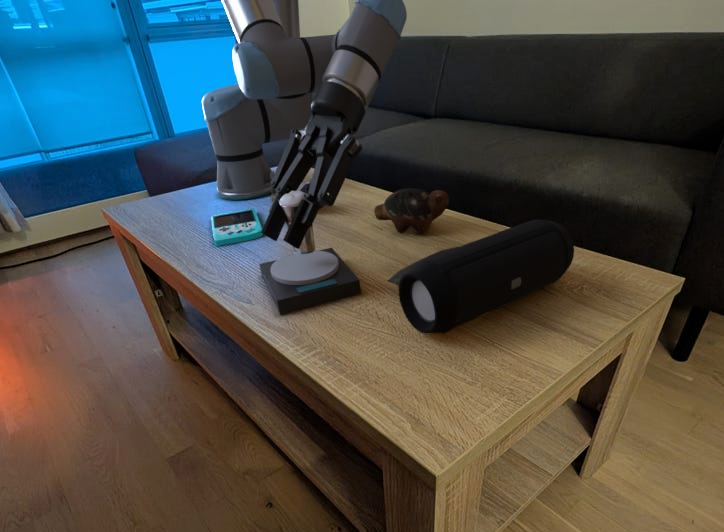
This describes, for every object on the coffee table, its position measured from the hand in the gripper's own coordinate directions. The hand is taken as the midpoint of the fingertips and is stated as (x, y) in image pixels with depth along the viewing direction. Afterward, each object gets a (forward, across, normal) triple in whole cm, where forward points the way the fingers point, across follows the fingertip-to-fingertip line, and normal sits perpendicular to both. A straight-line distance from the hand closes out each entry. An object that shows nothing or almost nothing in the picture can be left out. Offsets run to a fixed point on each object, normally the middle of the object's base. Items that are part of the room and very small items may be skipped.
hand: (279, 240), depth 67 cm
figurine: (-13, +29, -25) cm, 40 cm away
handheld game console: (-2, +32, -14) cm, 35 cm away
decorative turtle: (-16, 0, -28) cm, 33 cm away
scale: (+4, -1, -8) cm, 9 cm away
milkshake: (0, 0, -5) cm, 5 cm away
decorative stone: (-5, -18, -18) cm, 26 cm away
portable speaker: (-4, -28, -16) cm, 32 cm away
